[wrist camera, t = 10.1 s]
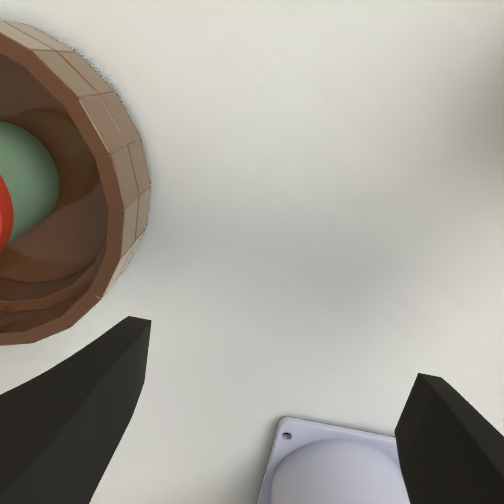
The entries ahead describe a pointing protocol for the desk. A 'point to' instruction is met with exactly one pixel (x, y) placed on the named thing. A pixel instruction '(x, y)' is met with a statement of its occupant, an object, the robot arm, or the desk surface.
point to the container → (24, 182)
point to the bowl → (68, 186)
